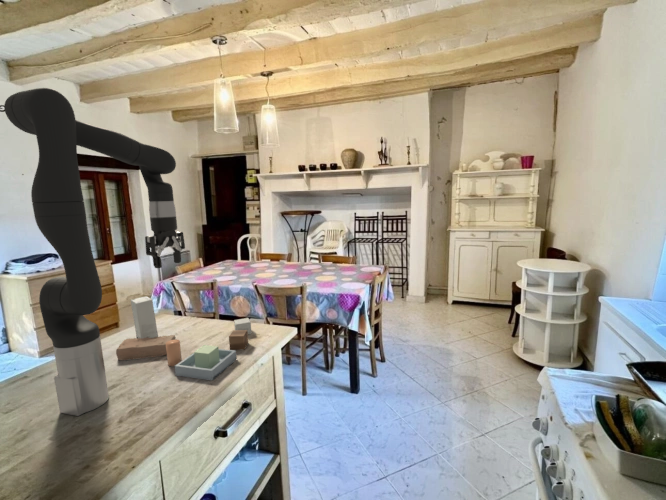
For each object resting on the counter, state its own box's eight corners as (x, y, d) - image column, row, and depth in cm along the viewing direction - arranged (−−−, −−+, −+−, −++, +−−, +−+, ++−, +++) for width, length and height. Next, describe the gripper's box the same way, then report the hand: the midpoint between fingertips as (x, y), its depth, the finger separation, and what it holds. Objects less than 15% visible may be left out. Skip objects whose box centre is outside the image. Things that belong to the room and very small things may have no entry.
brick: (177, 344, 117) (176, 332, 117) (171, 355, 109) (170, 342, 109) (126, 351, 114) (124, 338, 113) (116, 362, 106) (114, 349, 105)
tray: (212, 380, 93) (211, 370, 92) (175, 375, 96) (174, 365, 96) (236, 359, 105) (236, 350, 104) (203, 355, 108) (202, 346, 108)
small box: (249, 329, 130) (248, 317, 129) (251, 334, 125) (251, 322, 124) (234, 331, 128) (233, 319, 127) (236, 337, 122) (235, 324, 122)
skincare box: (158, 337, 124) (154, 299, 122) (140, 342, 120) (135, 303, 117) (151, 331, 130) (147, 295, 128) (134, 335, 126) (129, 298, 123)
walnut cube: (244, 349, 112) (243, 336, 111) (229, 350, 112) (228, 336, 111) (248, 343, 117) (247, 330, 116) (234, 343, 117) (233, 330, 116)
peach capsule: (175, 366, 101) (173, 345, 100) (165, 365, 102) (162, 344, 101) (184, 360, 105) (182, 340, 104) (174, 359, 106) (172, 338, 105)
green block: (210, 369, 98) (208, 353, 97) (195, 367, 99) (194, 352, 98) (219, 361, 102) (218, 346, 102) (205, 359, 104) (204, 344, 103)
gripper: (155, 217, 97) (161, 270, 99) (188, 214, 110) (192, 261, 113) (135, 217, 99) (141, 269, 101) (169, 214, 112) (174, 260, 115)
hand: (168, 265), depth 107 cm, fingers open, 8 cm apart
